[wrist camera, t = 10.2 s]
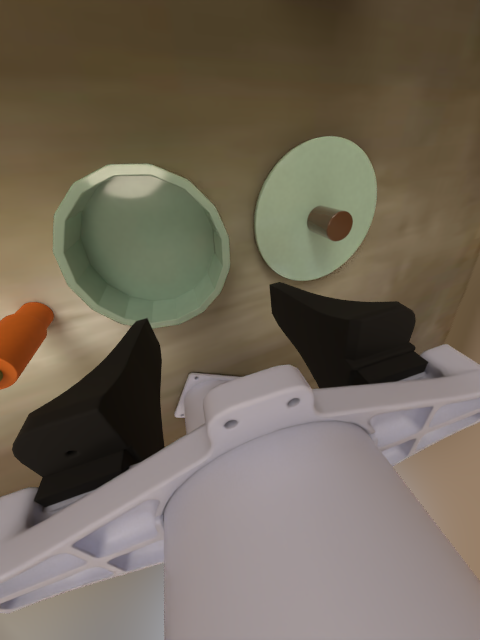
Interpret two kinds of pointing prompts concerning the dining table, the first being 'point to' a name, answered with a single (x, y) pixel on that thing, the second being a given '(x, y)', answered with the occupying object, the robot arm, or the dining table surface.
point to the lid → (315, 208)
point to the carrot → (21, 339)
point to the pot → (141, 245)
